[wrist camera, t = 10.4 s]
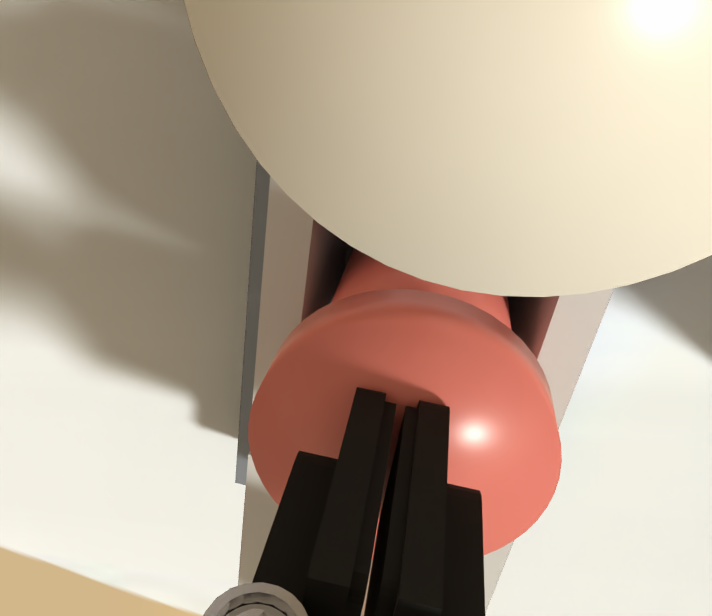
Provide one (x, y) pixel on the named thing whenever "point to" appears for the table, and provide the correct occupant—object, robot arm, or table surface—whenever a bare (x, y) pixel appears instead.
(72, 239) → the table surface
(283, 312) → the grey compartment rack
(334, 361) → the red rounded knob
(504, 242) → the ivory plunger
